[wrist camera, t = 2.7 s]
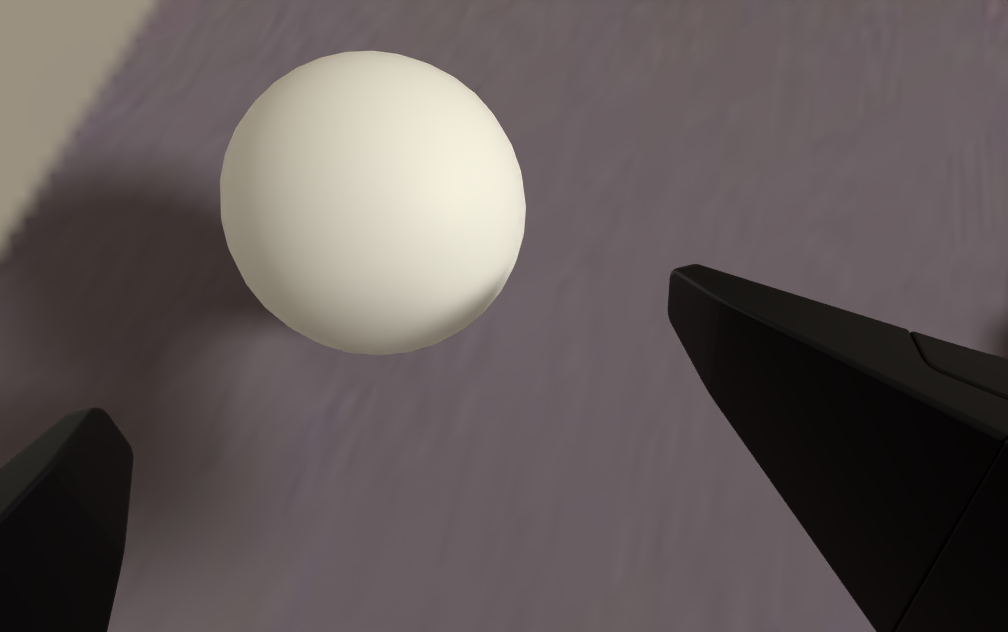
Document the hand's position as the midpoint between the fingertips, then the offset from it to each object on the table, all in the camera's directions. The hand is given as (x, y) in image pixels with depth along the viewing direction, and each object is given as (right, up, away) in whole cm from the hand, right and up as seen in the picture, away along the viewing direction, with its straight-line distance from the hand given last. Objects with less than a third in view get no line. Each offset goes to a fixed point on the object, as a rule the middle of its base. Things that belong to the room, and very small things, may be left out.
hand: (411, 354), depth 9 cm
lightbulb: (-2, +1, +11) cm, 11 cm away
